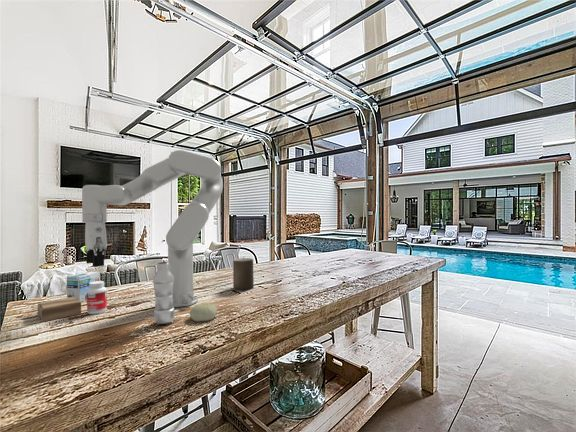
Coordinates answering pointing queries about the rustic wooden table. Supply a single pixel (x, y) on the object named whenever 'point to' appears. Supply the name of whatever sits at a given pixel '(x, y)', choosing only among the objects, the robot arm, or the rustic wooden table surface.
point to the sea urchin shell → (203, 312)
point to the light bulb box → (81, 284)
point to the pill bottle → (96, 298)
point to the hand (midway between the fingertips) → (95, 264)
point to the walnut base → (58, 308)
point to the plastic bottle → (163, 294)
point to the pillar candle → (243, 274)
